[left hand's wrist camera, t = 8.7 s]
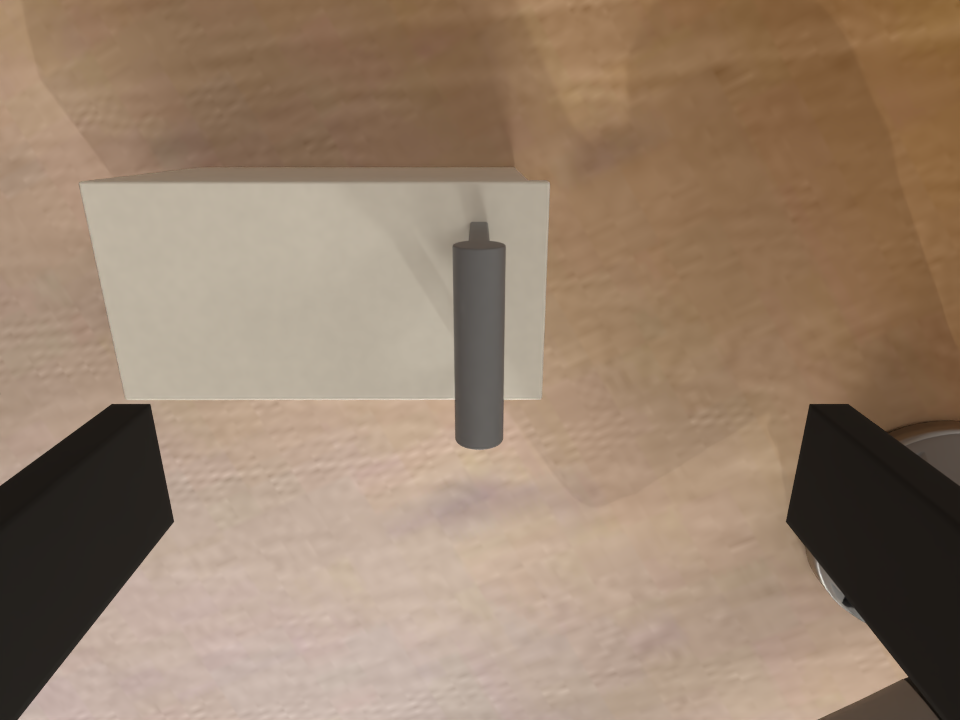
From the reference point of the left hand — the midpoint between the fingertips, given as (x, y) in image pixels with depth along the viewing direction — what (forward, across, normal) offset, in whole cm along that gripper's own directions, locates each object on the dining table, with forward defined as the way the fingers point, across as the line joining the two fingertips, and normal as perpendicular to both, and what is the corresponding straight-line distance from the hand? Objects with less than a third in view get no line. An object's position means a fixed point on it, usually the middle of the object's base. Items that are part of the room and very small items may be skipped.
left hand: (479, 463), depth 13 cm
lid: (+15, +6, 0) cm, 16 cm away
